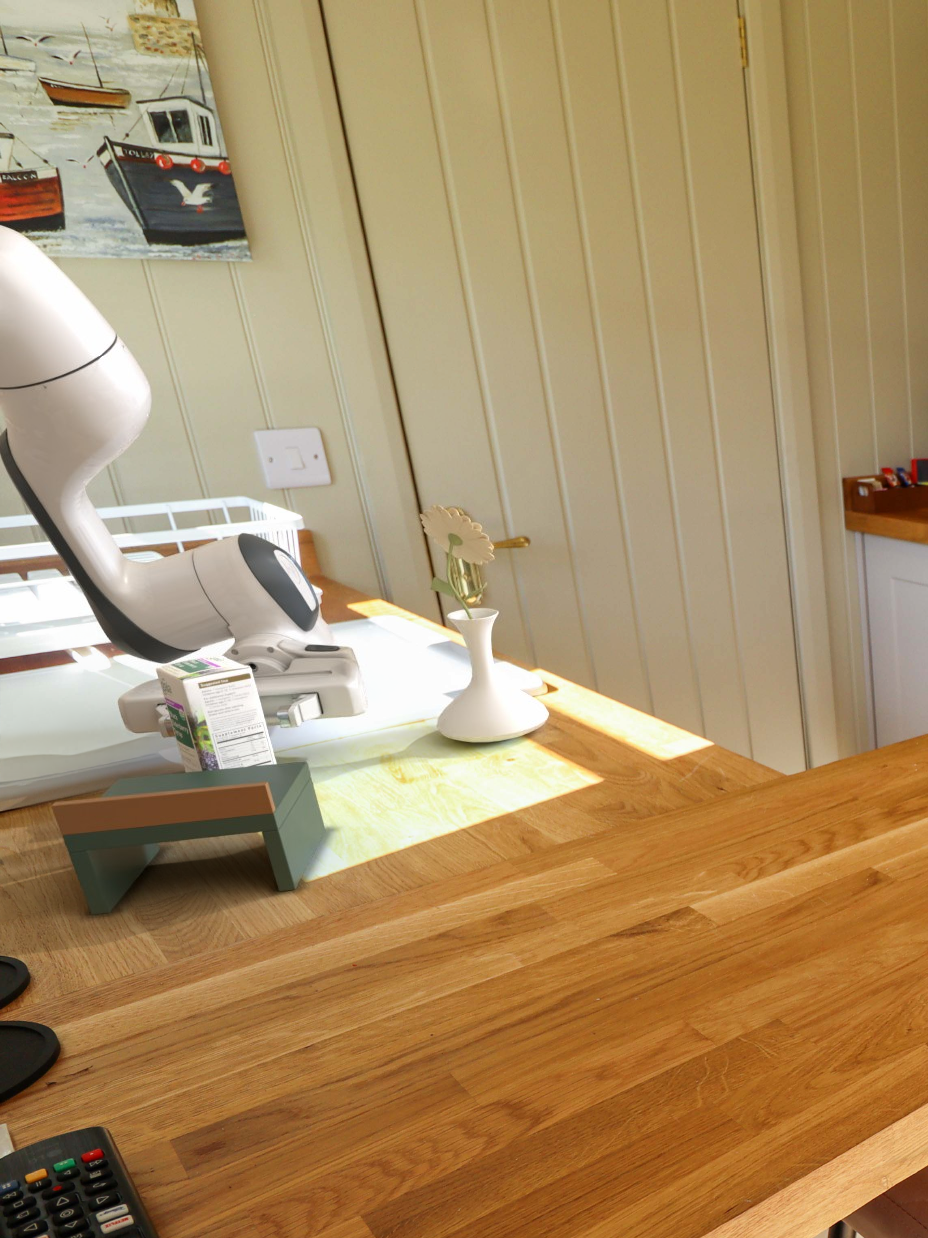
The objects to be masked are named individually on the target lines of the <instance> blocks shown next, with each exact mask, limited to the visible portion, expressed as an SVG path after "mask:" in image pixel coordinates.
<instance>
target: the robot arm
mask: <svg viewBox="0 0 928 1238" xmlns="http://www.w3.org/2000/svg"><path fill="white" fill-rule="evenodd" d="M152 400H153V398H152V389H151V385H150V383H149V380H148V378H147V377H146V374H145V373H144V371H143V369H142V368H141V366H140V364H139V363H138V361H137V359H136V358H135V356H134V355H133V354H132V352H131V351H130V349H129V348H128V347H127V345H126V344H125V343H124V341H123V340H122V339H121V337H120V336H119V335H118V333H117V332H116V331H115V329H114V328H113V327H112V326H111V324H110V323H109V322H108V321H107V319H106V318H105V317H104V315H103V314H102V313H101V312H100V311H99V309H98V308H97V307H96V305H94V303H93V302H92V301H91V300H90V299H89V297H87V296H86V294H85V293H84V292H83V291H82V290H81V289H80V288H79V286H77V285H76V283H75V282H74V281H73V280H72V279H71V278H70V277H69V276H68V275H67V274H66V273H65V272H64V271H63V270H62V268H60V267H59V266H58V265H57V264H56V263H55V262H54V261H53V260H52V259H51V258H50V257H49V256H48V255H47V254H46V253H45V252H44V251H42V250H41V248H40V247H39V246H38V245H36V244H35V243H34V242H33V241H32V240H31V239H29V238H28V237H27V236H25V235H24V234H22V233H21V232H18V231H16V230H15V229H12V228H9V227H7V226H4V225H2V224H0V408H1V410H2V412H3V416H4V419H5V424H6V428H5V429H4V430H3V431H2V432H1V434H0V458H1V461H2V464H3V467H4V469H5V471H6V472H7V475H8V477H9V478H10V481H11V482H12V484H13V486H14V488H15V489H16V491H17V492H18V494H19V496H20V498H21V499H22V501H23V502H24V503H25V505H26V507H27V509H28V511H29V512H30V513H31V515H32V516H33V519H34V520H35V521H36V523H37V524H38V526H39V527H40V529H41V530H42V532H43V533H44V535H45V536H46V538H47V540H48V541H49V543H50V544H51V546H52V548H53V549H54V550H55V551H56V553H57V555H58V556H59V557H60V559H61V560H62V562H63V563H64V565H65V567H66V568H67V570H68V571H69V572H70V574H71V576H72V577H73V579H74V581H75V582H76V583H77V585H78V587H79V588H80V590H81V591H82V593H83V595H84V597H85V599H86V601H87V603H88V605H89V607H90V609H91V611H92V613H93V615H94V617H95V619H96V621H97V623H98V624H99V626H100V628H101V630H102V631H103V633H104V635H105V636H106V638H107V639H108V640H109V642H110V643H111V644H112V646H114V647H115V648H116V649H117V650H119V651H120V652H122V653H125V654H127V655H129V656H132V657H134V658H137V659H140V660H144V661H147V662H152V663H156V664H163V665H164V664H170V663H171V662H175V661H176V660H180V659H181V658H184V657H186V656H189V655H191V654H193V653H195V652H198V651H200V650H201V649H202V648H206V647H208V646H213V645H215V644H219V643H222V642H224V641H229V640H231V639H234V642H233V644H232V645H231V646H230V647H229V648H228V649H227V650H226V651H225V652H224V653H223V654H222V655H221V656H224V657H226V658H228V659H231V660H233V661H236V662H238V663H241V664H243V665H245V666H246V665H247V666H250V668H251V670H252V674H253V678H254V681H255V685H256V688H257V692H258V696H259V700H260V703H261V707H262V711H263V714H264V718H265V722H266V726H267V727H272V726H273V727H276V726H279V727H280V728H281V729H288V728H289V729H290V728H299V727H300V726H301V725H302V723H305V722H308V721H312V720H313V721H315V720H324V719H325V720H326V719H337V718H351V717H356V716H360V715H363V714H365V713H366V712H367V709H368V707H369V702H368V697H367V693H366V688H365V684H364V680H363V679H364V678H363V677H362V671H361V668H360V665H359V663H358V659H357V657H356V654H355V651H354V649H353V648H352V647H350V646H345V645H337V642H336V638H335V635H334V633H333V631H332V629H331V627H330V626H329V624H328V623H327V622H326V620H324V618H322V617H321V616H320V615H319V612H320V603H319V600H318V597H317V594H316V592H315V590H314V588H313V585H312V584H311V581H310V580H309V578H308V576H307V575H306V573H305V571H304V570H303V568H302V567H301V566H300V564H299V563H298V562H297V561H296V559H295V558H294V557H293V556H292V555H291V554H290V553H289V552H288V551H286V550H285V549H283V548H282V547H280V546H278V545H277V544H274V543H273V542H271V541H268V540H267V539H265V538H262V537H261V536H257V535H255V534H251V533H246V532H242V533H240V534H236V535H232V536H230V537H225V538H221V539H218V540H215V541H212V542H211V541H210V542H208V543H205V544H202V545H199V546H198V545H197V547H195V548H191V549H188V550H184V551H181V552H178V553H175V554H172V555H168V556H165V557H162V558H159V559H155V560H151V561H146V562H145V561H143V562H142V561H135V560H131V559H129V558H128V557H125V555H124V553H123V552H122V550H121V549H120V547H119V545H118V544H117V542H116V541H115V539H114V537H113V536H112V534H111V532H110V531H109V529H108V528H107V526H106V524H105V522H104V521H103V520H102V518H101V516H100V515H99V513H98V512H97V510H96V508H95V506H94V505H93V503H92V501H91V500H90V498H89V497H88V496H89V495H88V494H87V490H86V486H87V485H88V484H89V483H90V482H91V480H92V479H94V477H95V476H96V475H98V474H99V473H100V472H101V471H102V470H104V468H106V467H107V466H108V465H109V464H111V463H112V462H113V461H115V460H116V459H117V458H119V457H120V456H121V455H122V454H123V453H124V452H126V451H127V450H128V449H129V448H130V447H131V446H132V445H133V444H134V442H135V441H137V439H138V437H139V436H140V435H141V433H142V432H143V430H144V428H145V427H146V425H147V423H148V420H149V418H150V415H151V411H152V405H153V401H152ZM117 705H118V710H119V713H120V717H121V720H122V722H123V725H124V727H125V728H126V730H128V731H129V732H131V733H134V734H149V733H160V734H161V737H163V738H165V739H166V738H176V737H175V734H174V730H173V726H172V723H171V720H170V716H169V712H168V709H167V705H166V702H165V698H164V695H163V692H162V688H161V685H160V682H159V678H155V679H151V680H148V681H144V682H143V683H140V684H138V685H137V686H134V687H133V688H131V689H130V690H127V692H125V693H123V694H122V695H120V697H118V698H117Z"/></svg>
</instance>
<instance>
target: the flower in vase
mask: <svg viewBox="0 0 928 1238" xmlns="http://www.w3.org/2000/svg"><path fill="white" fill-rule="evenodd" d="M419 518H420V519H421V525H422V526H423V527H424V528H423V531H424V533H425V534H426V535H427V536H429V537H430V538H432V540H433V542H434V543H435V545H437V546H441V549H442V550H443V551H444V552H445V553H447V561H446V572H445V573H446V579H447V581H445V580H443V579H441V578H439V577H437V576H434V577H433V579H432V583H431V585H430V588H429V589H430V590H431V591H435V592H439V593H442V594H443V595H446V596H448V597H451V598H453V597H456V599H457V600H458V602H459V604H460V605H461V606H462V608H463V609H460V610H455V611H452V612H449V613H448V614H447V615H446V618H447V619H448V620H449V621H450V622H451V623H452V624H453V625H454V626H455V627H456V628H457V630H458V631H459V633H460V634H461V636H462V639H463V641H464V643H465V646H466V649H467V652H468V656H469V660H470V666H471V679H470V682H469V684H468V685H466V688H464V690H462V691H461V692H460V693H459V695H457V696H456V697H455V698H454V699H453V700H452V701H451V702H450V703H449V704H447V706H446V707H445V708H444V709H443V710H442V712H441V713H440V715H439V716H438V718H437V721H436V730H438V732H440V734H441V735H442V736H444V737H445V738H447V739H451V740H455V741H459V742H466V743H493V742H500V741H501V742H502V741H505V740H512V739H515V738H519V737H523V736H524V735H526V734H529V733H532V732H534V731H536V730H538V729H539V728H541V727H542V726H543V725H544V724H546V721H547V720H548V718H549V711H548V709H547V708H546V706H545V704H543V703H542V702H540V701H539V700H538V699H537V698H535V697H533V696H531V695H530V694H528V693H526V692H525V691H522V690H520V689H519V688H516V687H515V686H513V685H511V684H509V683H508V682H506V681H505V680H504V679H502V678H501V676H500V675H499V674H498V671H497V669H496V666H495V662H494V657H493V651H492V650H493V649H492V630H493V626H494V622H495V620H496V618H497V617H498V615H499V610H496V609H495V608H488V607H477V608H475V607H474V608H468V606H467V605H466V602H465V601H467V600H470V599H471V598H473V597H475V596H476V595H478V594H479V593H480V592H481V591H482V590H483V589H485V588H486V587H487V586H488V582H487V581H486V582H484V584H483V586H482V587H480V588H476V589H475V590H473V591H471V592H470V593H468V594H467V595H466V596H465V598H463V599H462V597H461V595H460V594H459V593H458V591H457V589H456V588H455V586H454V584H453V582H452V579H451V564H452V557H454V558H455V559H458V560H460V559H462V560H464V562H466V563H468V564H471V565H472V564H475V565H478V566H483V564H489V563H490V561H494V560H495V559H496V558H495V556H494V554H493V552H494V550H495V547H494V545H493V544H492V542H491V541H490V536H489V535H488V534H486V533H484V532H482V530H483V526H482V525H481V524H480V523H478V522H471V518H470V517H469V516H467V515H466V514H465V515H460V513H459V511H458V510H457V509H456V507H449V509H448V510H446V509H445V508H444V507H443V506H442V505H440V504H435V505H433V504H432V505H430V509H423V510H422V513H419Z"/></svg>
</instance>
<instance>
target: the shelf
mask: <svg viewBox="0 0 928 1238" xmlns="http://www.w3.org/2000/svg"><path fill="white" fill-rule="evenodd" d="M50 807H51V809H52V813H53V816H54V819H55V820H56V823H57V826H58V829H59V831H60V834H61V836H62V840H63V842H64V845H65V847H66V849H67V852H68V855H69V858H70V861H71V865H72V866H73V869H74V871H75V872H74V873H75V874H76V877H77V880H78V882H79V884H80V887H81V890H82V893H83V895H84V898H85V902H86V903H87V907H88V909H89V912H90V914H91V915H92V916H95V915H102V914H110V913H111V912H112V910H113V909H114V908H115V906H117V904H118V903H119V902H120V901H121V899H122V898H123V897H124V895H125V894H126V893H127V892H128V891H129V889H130V888H131V887H132V885H133V884H134V883H135V881H136V880H138V878H139V877H140V876H141V875H142V873H143V872H144V870H145V869H146V868H147V867H148V865H149V864H150V863H151V862H152V860H153V859H154V858H155V857H156V855H157V854H158V853H159V852H160V846H159V844H161V843H171V842H181V841H188V840H189V841H190V840H199V839H208V838H217V837H227V836H235V835H245V834H254V833H261V834H262V838H263V841H264V845H265V847H266V851H267V855H268V858H269V862H270V866H271V869H272V873H273V876H274V878H275V882H276V885H277V889H278V891H279V892H288V891H295V890H296V889H297V887H298V885H299V883H300V881H302V880H301V879H302V878H303V876H304V874H305V872H306V870H307V869H308V866H309V864H310V862H311V861H312V859H313V856H314V855H315V852H316V851H317V849H318V847H319V845H320V843H321V842H322V839H323V837H324V835H325V834H326V827H325V823H324V820H323V815H322V813H321V808H320V805H319V800H318V796H317V793H316V789H315V787H314V782H313V779H312V775H311V770H310V768H309V763H308V761H304V760H303V761H295V762H286V763H283V762H282V763H277V764H272V765H261V766H250V767H239V768H229V769H218V770H207V771H196V772H186V771H185V772H178V773H177V772H176V773H165V774H155V775H154V774H153V775H144V776H135V777H134V776H132V777H123V778H121V777H120V778H118V779H117V780H116V781H115V782H114V783H113V784H112V785H111V786H110V787H109V788H108V789H107V790H106V791H105V792H104V793H103V794H102V795H101V796H100V797H95V798H84V799H75V800H64V801H55V802H54V803H53V804H52V805H50Z"/></svg>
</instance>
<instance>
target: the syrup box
mask: <svg viewBox="0 0 928 1238" xmlns="http://www.w3.org/2000/svg"><path fill="white" fill-rule="evenodd" d="M155 672H156V674H157V679H159V682H160V685H161V688H162V692H163V695H164V698H165V702H166V705H167V709H168V712H169V716H170V720H171V723H172V726H173V730H174V734H175V737H174V738H175V740H176V743H177V746H178V750H179V754H180V757H181V761H182V764H183V767H184V771H185V772H196V771H207V770H218V769H229V768H239V767H250V766H261V765H272V764H278V762H277V759H276V757H275V754H274V753H275V752H274V748H273V745H272V742H271V738H270V734H269V730H268V726H266V722H265V718H264V714H263V711H262V707H261V703H260V700H259V696H258V692H257V688H256V685H255V681H254V678H253V674H252V670H251V668H250V666H247V665H246V666H245V665H243V664H241V663H238V662H236V661H233V660H231V659H228V658H226V657H224V656H222V655H221V656H208V657H207V656H206V657H199V658H192V659H187V660H182V661H178V662H173V663H168V664H167V665H162V666H160V667H159V666H158V667H157V668H155Z"/></svg>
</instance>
